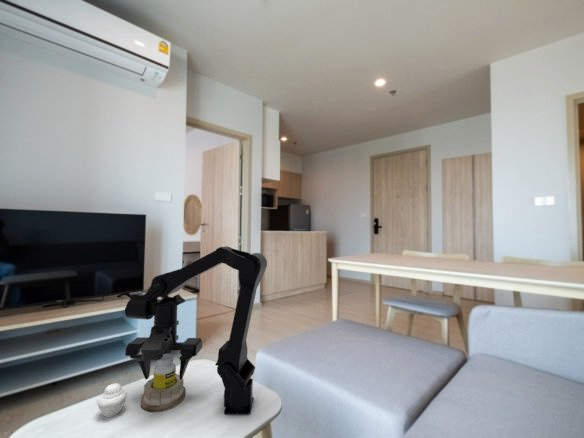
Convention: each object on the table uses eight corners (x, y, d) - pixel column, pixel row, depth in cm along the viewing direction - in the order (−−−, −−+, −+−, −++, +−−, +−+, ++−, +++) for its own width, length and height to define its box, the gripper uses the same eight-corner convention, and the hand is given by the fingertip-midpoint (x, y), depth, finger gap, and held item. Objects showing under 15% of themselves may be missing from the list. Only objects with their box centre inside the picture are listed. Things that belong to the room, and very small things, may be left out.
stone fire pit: (191, 387, 80) (192, 372, 80) (175, 412, 69) (175, 395, 69) (153, 387, 80) (154, 372, 80) (131, 411, 69) (131, 394, 69)
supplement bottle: (165, 401, 71) (166, 362, 71) (148, 398, 72) (149, 360, 73) (179, 390, 76) (180, 353, 76) (162, 387, 77) (163, 351, 78)
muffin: (93, 414, 68) (94, 384, 68) (121, 402, 73) (122, 375, 73) (101, 425, 64) (102, 394, 64) (130, 412, 69) (131, 383, 69)
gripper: (112, 330, 67) (109, 396, 66) (188, 331, 67) (186, 397, 66) (138, 316, 78) (136, 372, 78) (203, 316, 78) (202, 373, 77)
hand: (164, 378), depth 74 cm, fingers open, 9 cm apart
